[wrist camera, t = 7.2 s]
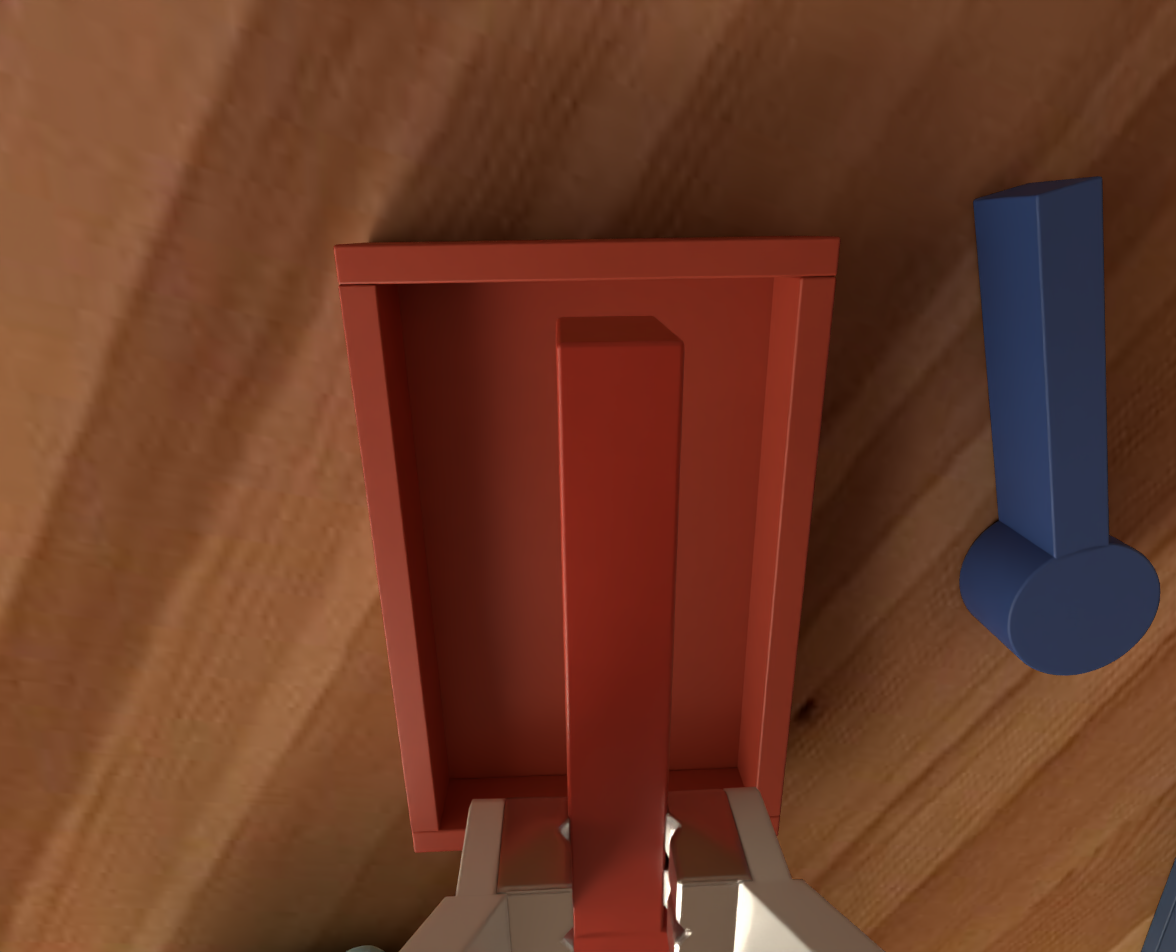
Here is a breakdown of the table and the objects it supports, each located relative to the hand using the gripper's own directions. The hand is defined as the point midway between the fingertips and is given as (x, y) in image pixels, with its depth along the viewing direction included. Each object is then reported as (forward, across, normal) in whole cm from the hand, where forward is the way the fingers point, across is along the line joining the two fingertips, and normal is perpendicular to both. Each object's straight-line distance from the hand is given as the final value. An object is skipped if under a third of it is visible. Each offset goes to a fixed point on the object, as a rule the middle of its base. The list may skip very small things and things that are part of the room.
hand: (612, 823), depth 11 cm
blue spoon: (+9, -12, -3) cm, 15 cm away
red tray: (+9, 0, 0) cm, 9 cm away
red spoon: (+2, 0, -1) cm, 2 cm away
